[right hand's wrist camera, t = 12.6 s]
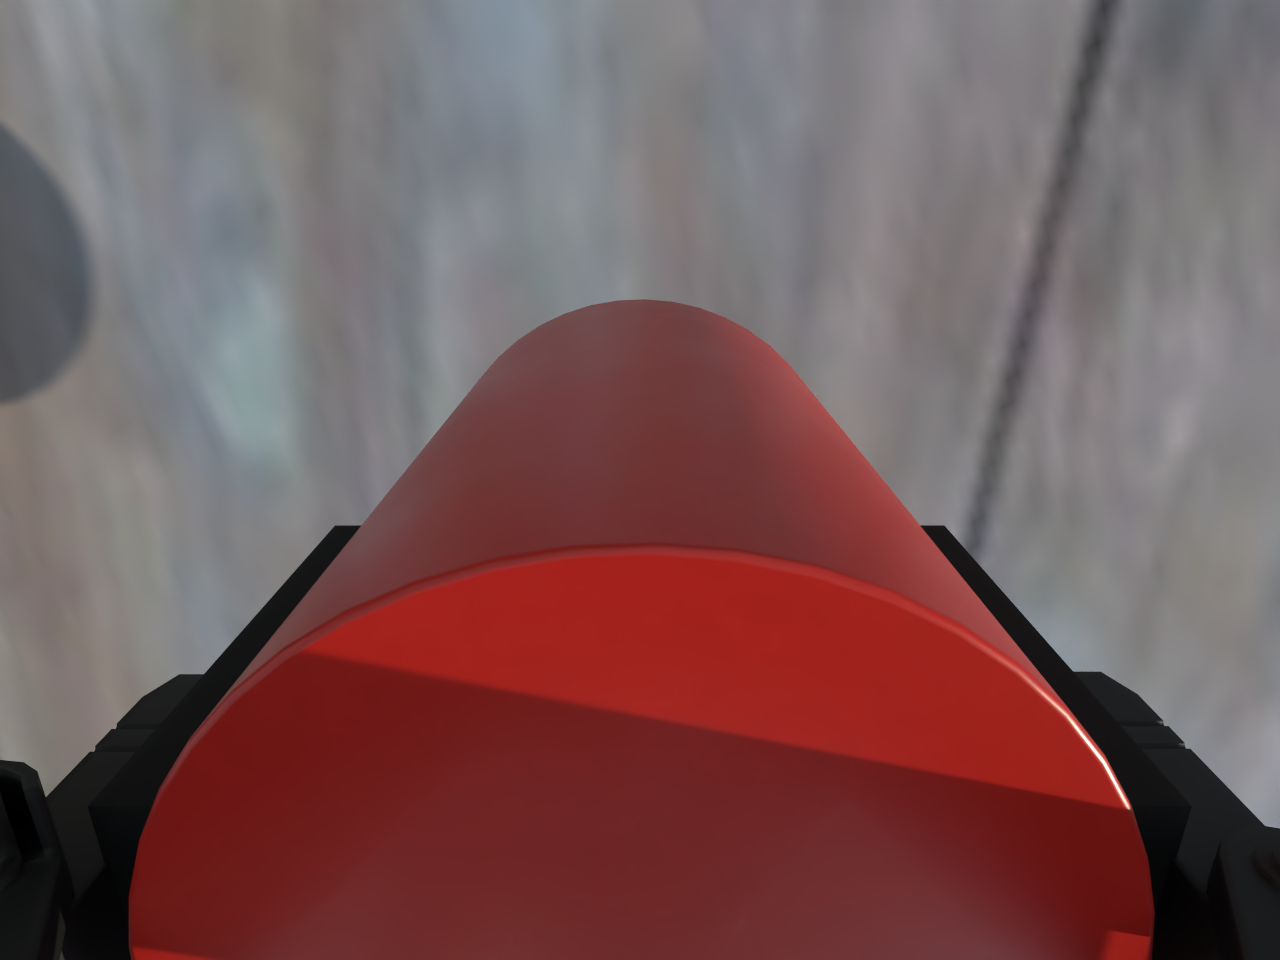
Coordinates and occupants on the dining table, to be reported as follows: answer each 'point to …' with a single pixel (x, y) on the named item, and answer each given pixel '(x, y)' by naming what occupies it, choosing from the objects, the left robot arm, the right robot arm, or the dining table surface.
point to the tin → (641, 704)
